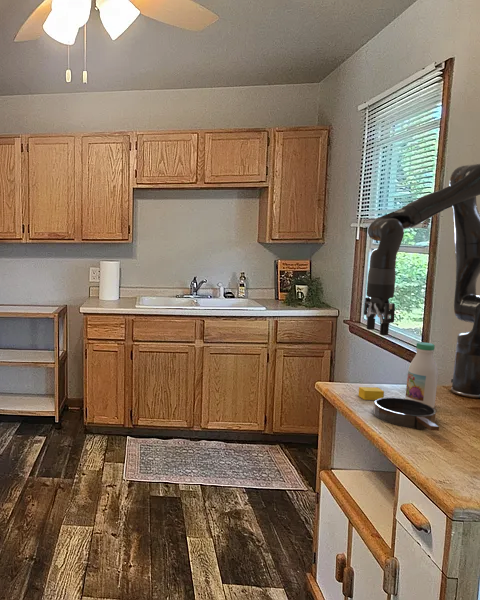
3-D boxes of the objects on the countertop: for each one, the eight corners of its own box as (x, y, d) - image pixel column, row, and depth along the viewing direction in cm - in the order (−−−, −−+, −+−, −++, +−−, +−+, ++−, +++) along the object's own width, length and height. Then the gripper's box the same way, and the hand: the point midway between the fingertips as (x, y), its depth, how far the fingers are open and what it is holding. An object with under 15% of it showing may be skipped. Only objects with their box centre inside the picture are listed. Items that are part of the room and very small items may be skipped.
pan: (415, 408, 153) (416, 398, 153) (447, 428, 138) (448, 416, 138) (364, 407, 154) (365, 396, 154) (390, 427, 139) (391, 415, 139)
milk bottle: (425, 401, 159) (431, 341, 156) (440, 410, 152) (446, 346, 149) (399, 401, 160) (405, 340, 157) (413, 409, 152) (419, 346, 149)
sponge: (377, 396, 165) (377, 387, 164) (383, 400, 161) (384, 391, 160) (358, 395, 165) (359, 387, 165) (364, 399, 161) (364, 390, 161)
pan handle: (414, 427, 139) (416, 416, 138) (422, 428, 139) (423, 416, 138) (430, 438, 132) (431, 426, 132) (438, 438, 132) (439, 426, 131)
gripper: (406, 284, 150) (401, 337, 153) (381, 279, 164) (377, 327, 167) (380, 284, 151) (375, 336, 153) (358, 279, 165) (354, 327, 167)
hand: (376, 332), depth 160 cm, fingers open, 8 cm apart
